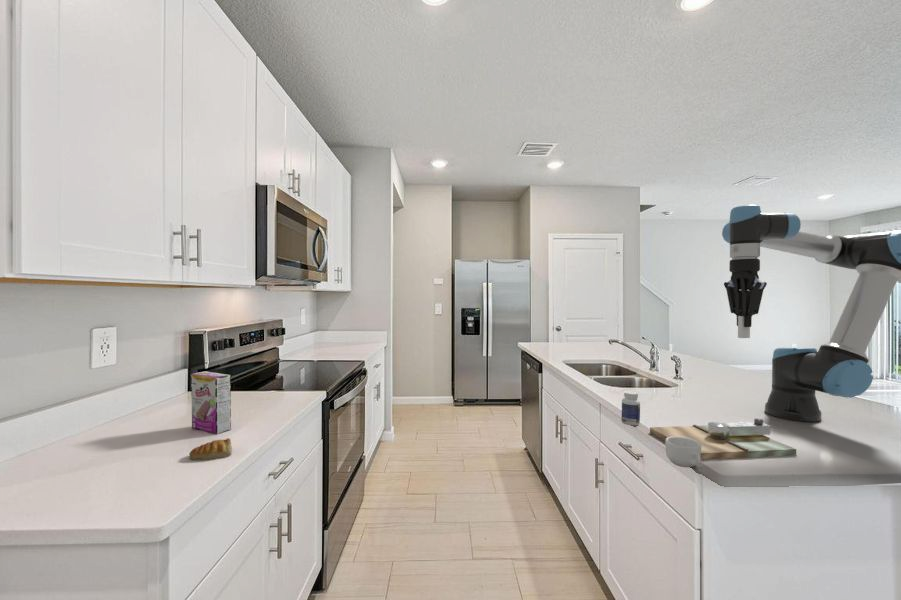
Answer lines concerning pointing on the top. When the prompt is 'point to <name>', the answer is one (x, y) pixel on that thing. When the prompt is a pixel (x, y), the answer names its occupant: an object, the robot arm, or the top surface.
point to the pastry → (212, 450)
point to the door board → (726, 443)
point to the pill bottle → (630, 408)
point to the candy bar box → (211, 402)
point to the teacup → (683, 451)
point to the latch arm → (738, 428)
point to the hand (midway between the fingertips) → (743, 337)
